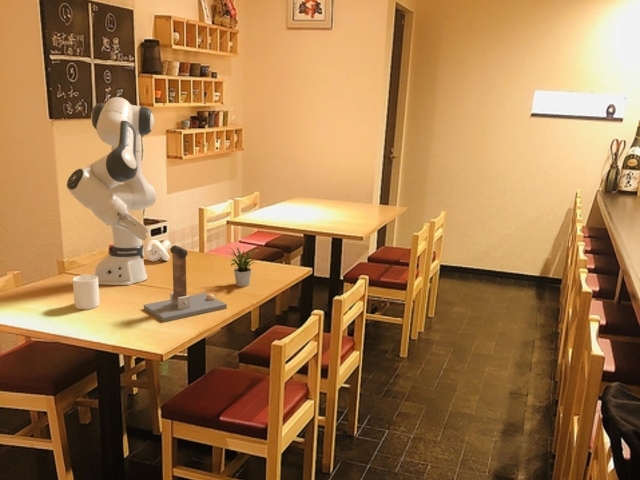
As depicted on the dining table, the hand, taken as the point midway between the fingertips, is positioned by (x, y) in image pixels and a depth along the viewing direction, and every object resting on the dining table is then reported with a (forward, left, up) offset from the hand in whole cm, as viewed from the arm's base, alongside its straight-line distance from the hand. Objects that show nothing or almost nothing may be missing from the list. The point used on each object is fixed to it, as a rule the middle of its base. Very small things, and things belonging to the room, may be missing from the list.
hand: (143, 237), depth 196 cm
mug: (-21, +15, -28) cm, 38 cm away
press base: (+13, +7, -27) cm, 31 cm away
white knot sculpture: (-1, +76, -28) cm, 81 cm away
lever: (+11, +6, -24) cm, 27 cm away
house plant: (+33, +34, -28) cm, 55 cm away
